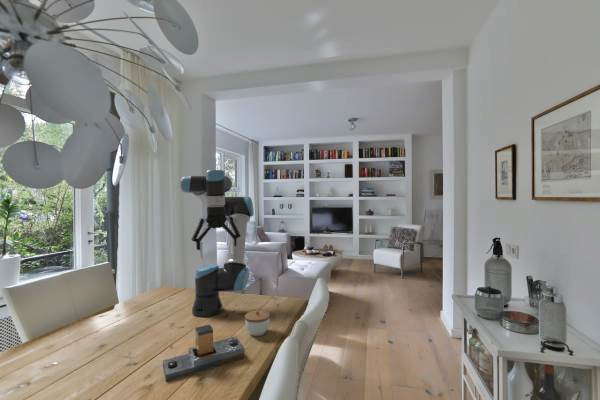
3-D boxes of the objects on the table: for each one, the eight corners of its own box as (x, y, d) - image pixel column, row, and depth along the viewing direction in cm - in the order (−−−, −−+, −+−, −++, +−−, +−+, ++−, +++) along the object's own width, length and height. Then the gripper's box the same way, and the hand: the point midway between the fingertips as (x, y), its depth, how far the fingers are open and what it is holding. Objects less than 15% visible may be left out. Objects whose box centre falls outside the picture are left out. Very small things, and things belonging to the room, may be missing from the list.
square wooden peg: (195, 361, 105) (195, 327, 105) (210, 357, 108) (209, 324, 108) (198, 367, 101) (198, 332, 101) (213, 363, 104) (213, 329, 104)
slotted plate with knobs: (162, 366, 102) (162, 352, 102) (235, 346, 115) (235, 335, 115) (166, 381, 94) (165, 366, 94) (244, 358, 107) (244, 345, 107)
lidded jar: (265, 339, 121) (265, 316, 121) (241, 337, 123) (240, 315, 123) (273, 328, 132) (272, 307, 132) (250, 326, 134) (250, 306, 134)
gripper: (186, 207, 116) (188, 261, 117) (247, 205, 129) (247, 253, 129) (183, 206, 123) (184, 257, 123) (241, 204, 135) (242, 250, 136)
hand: (217, 255), depth 126 cm, fingers open, 13 cm apart
